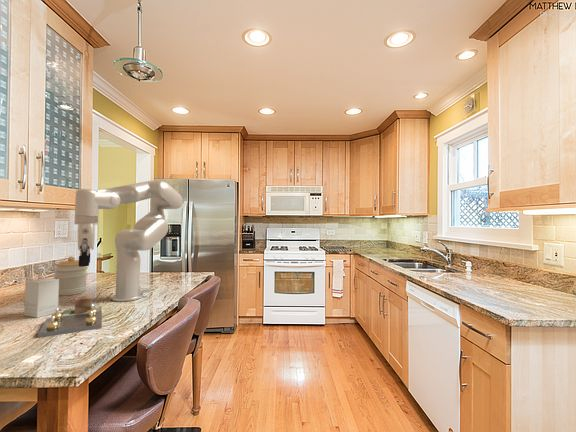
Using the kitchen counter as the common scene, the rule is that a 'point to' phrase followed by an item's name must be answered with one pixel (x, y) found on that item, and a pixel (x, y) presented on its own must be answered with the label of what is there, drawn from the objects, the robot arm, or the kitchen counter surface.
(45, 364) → the kitchen counter surface
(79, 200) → the robot arm
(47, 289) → the supplement box
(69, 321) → the standoff base
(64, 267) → the jar
